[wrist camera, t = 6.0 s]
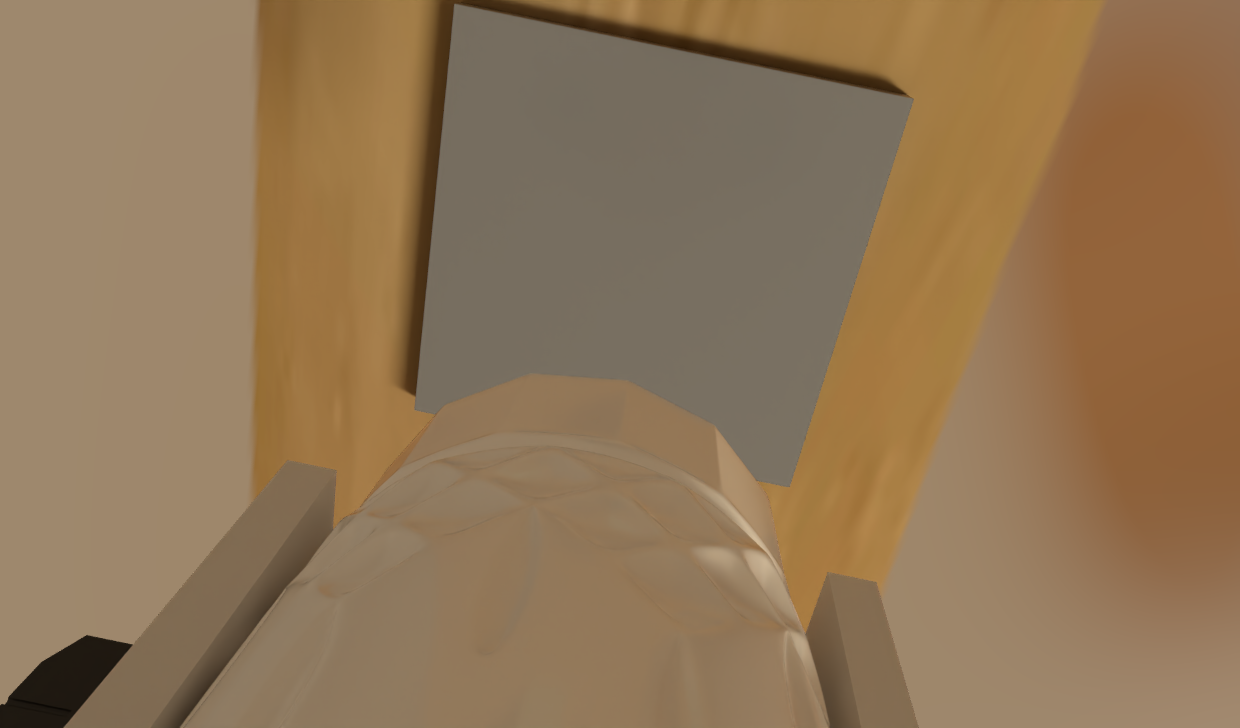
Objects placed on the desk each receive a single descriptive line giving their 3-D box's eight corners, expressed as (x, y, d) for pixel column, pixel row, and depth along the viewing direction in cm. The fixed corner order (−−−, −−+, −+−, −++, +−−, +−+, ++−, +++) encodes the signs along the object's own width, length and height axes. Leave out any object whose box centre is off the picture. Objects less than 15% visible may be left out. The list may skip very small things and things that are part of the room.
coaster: (461, 2, 27) (454, 3, 26) (908, 95, 27) (913, 98, 26) (420, 400, 33) (414, 409, 32) (787, 476, 33) (789, 487, 32)
